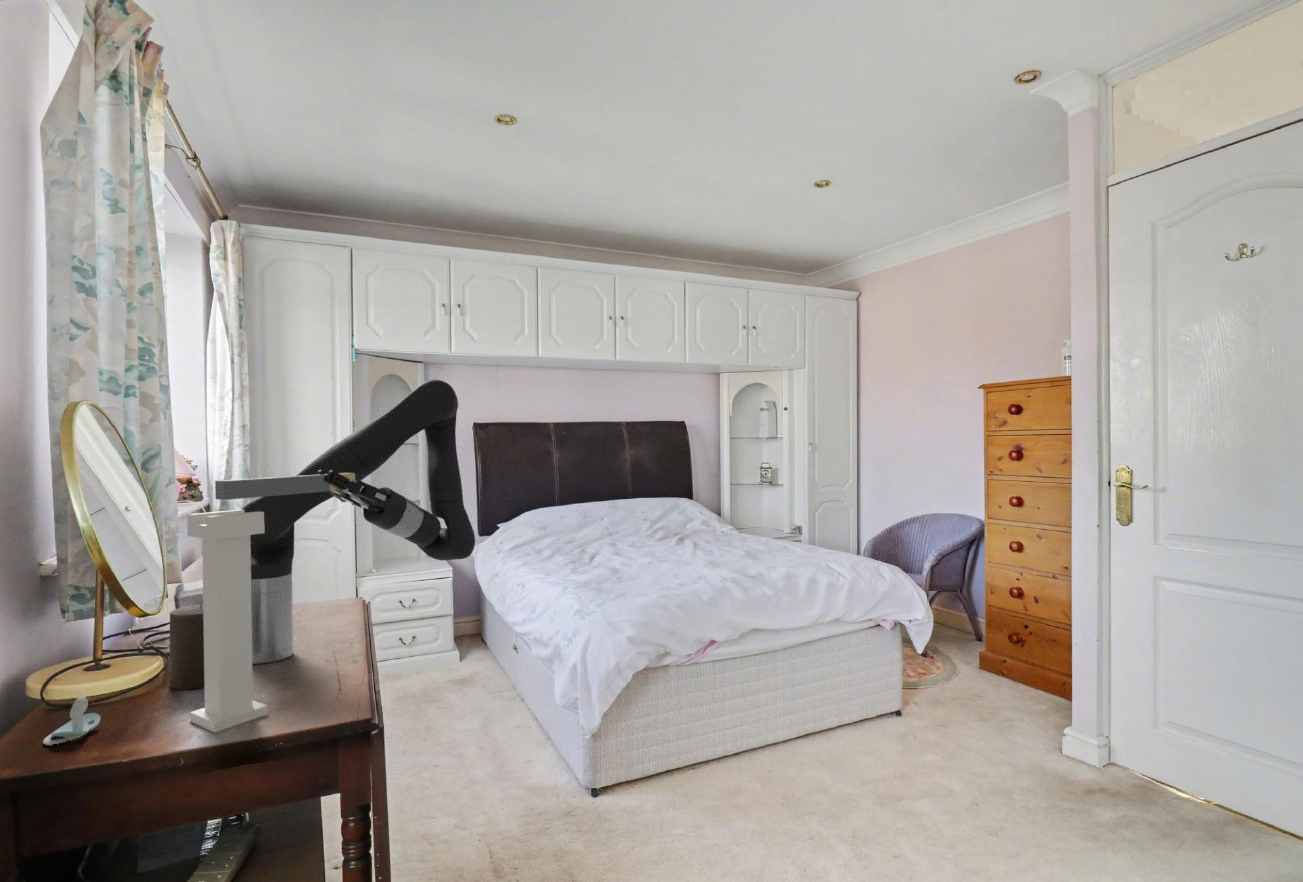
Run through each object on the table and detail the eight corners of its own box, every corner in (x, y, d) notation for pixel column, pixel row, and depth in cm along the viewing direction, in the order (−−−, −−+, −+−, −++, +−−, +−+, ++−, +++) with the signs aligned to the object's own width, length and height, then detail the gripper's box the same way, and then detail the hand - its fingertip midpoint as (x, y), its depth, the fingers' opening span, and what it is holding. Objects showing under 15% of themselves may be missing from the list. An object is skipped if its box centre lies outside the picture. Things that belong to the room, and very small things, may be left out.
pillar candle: (196, 692, 122) (196, 609, 122) (156, 687, 125) (156, 605, 125) (243, 675, 131) (243, 597, 131) (204, 670, 134) (204, 594, 134)
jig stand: (190, 721, 110) (187, 514, 109) (242, 704, 116) (239, 509, 116) (214, 732, 105) (211, 517, 105) (267, 714, 112) (264, 511, 112)
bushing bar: (215, 499, 111) (215, 480, 111) (346, 488, 130) (345, 472, 130) (224, 499, 109) (224, 481, 109) (355, 489, 128) (355, 473, 128)
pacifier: (32, 752, 100) (80, 745, 102) (29, 710, 100) (77, 704, 101) (61, 731, 107) (106, 725, 109) (59, 692, 107) (103, 686, 109)
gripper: (380, 495, 143) (310, 456, 130) (424, 497, 135) (354, 457, 122) (365, 528, 140) (292, 491, 127) (408, 532, 132) (335, 494, 119)
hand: (323, 475), depth 125 cm, fingers closed on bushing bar, 3 cm apart
